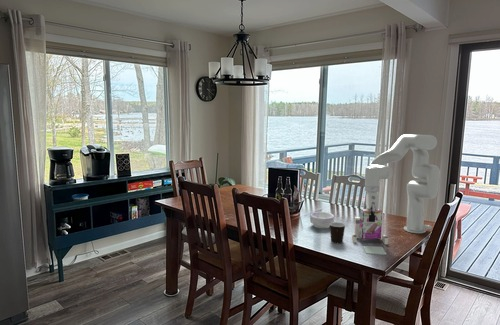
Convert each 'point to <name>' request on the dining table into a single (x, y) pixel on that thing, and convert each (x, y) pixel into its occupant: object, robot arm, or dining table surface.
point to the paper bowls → (321, 219)
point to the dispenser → (356, 232)
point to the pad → (374, 250)
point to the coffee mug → (337, 232)
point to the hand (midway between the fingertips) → (370, 219)
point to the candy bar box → (370, 225)
